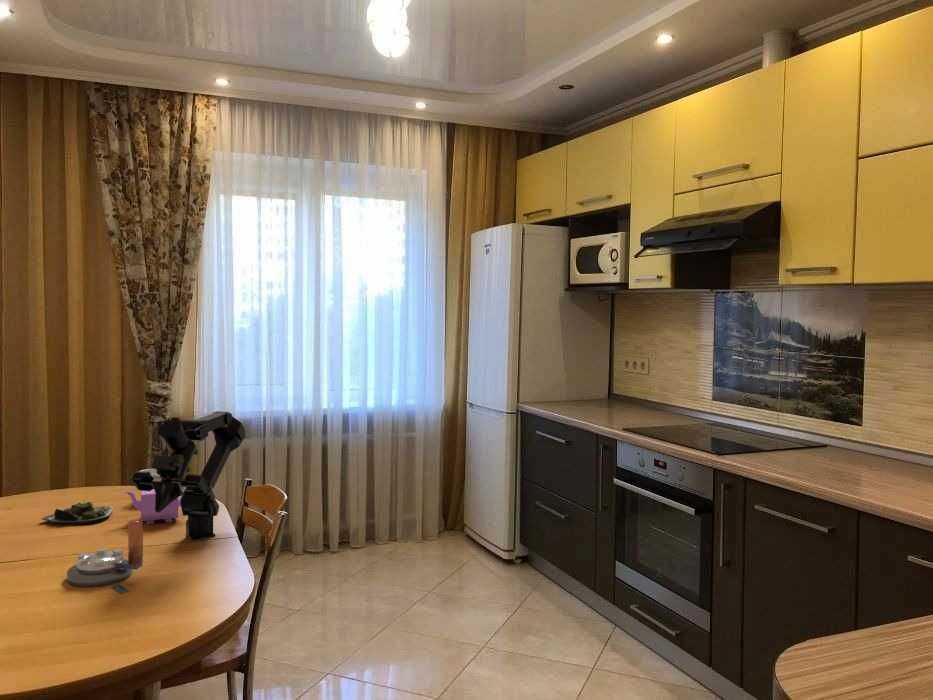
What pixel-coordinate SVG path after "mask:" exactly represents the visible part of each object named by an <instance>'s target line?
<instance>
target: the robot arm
mask: <svg viewBox="0 0 933 700" xmlns="http://www.w3.org/2000/svg"><path fill="white" fill-rule="evenodd" d="M209 432H212V433H213V435H214V441H215V446H214V448H213V450H212V452H211V453H210V456H209V457H208V460H207V461H206V464H205V465H204V467H203V470H202V472H201V474H198V473H197V474H196V473H194V474H193V473H190V471H191V468H190V464H191V461H192V459H193V457H194V455H198V454H199V451H198V448H197V445H196V444H195V442H194V441H196V442H197V441H199V442H202V441H204V440H205V439H206V438H207V437H208V436H209ZM246 433H247V432H246V428H245V427H244V425H243V423H242V422H241V421H239V420H238V419H236V418H235V416H233V414H232V413H231V412H229V411H221V410H220V411H219V410H218V411H214V412H213V413H210V414H208V415H205V416H202V417H200V418H196V419H195V418H186V419H185V418H184V419H183V418H182V419H181V418H180V417H175V416H174V417H173V416H172V417H171V418H170V420H168V421H165V422H164V423H163V424H161V425H160V426H159V428H158V435H159V436H160V438H161V439H162V440H163V442H164V444H165V445H166V447H167V448H168V449H169V450H170V452H169V455H153V459H152V462H151V467H150V469H157V471H156V473H157V474H158V475H160V476H154V477H152V475H151V474H150V473H149V472H143V471H141V470H136V471H134V472H133V473H132V475H131V476H130V479H129V480H130V481H131V482H132V484H133V485H134V487H135V489H137V490H138V491H140V492H141V491H151V490H153V489H154V490H155V495H156V498H155V511H156V512H158V513H159V512H161V511H162V510H163V509H164V508H165V507H166V506H168V505H169V504H170V503H171V502H172V501H174V500H175V499H176V498H180V497H181V496H182V497H181V501H180V503H181V506H180V508H181V512H182V516H184V517H185V516H186V517H187V519H186V520H185V535H186V536H187V537H188V538H190V539H191V540H192V541H197V540H201V539H206V538H213V537H216V533H214V517H216V516H218V514H219V511H220V510H219V509H220V504H219V502H218V501H217V500H216V494H215V490H214V489H215V485H216V484H217V482H218V480H219V477H220V475H221V474H222V471H223V469H224V466H225V465H226V463H227V460H228V459H229V457H230V454H231V453H232V452H233V451H234V450H237V449H238V448H239V447H240V446H241V444H242V443H243V441H244V440H245V439H246ZM187 473H188V474H187ZM185 488H186V489H185ZM184 490H185V491H184ZM183 491H184V493H183Z"/></svg>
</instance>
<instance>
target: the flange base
mask: <svg viewBox="0 0 933 700" xmlns="http://www.w3.org/2000/svg"><path fill="white" fill-rule="evenodd" d="M123 560H128V558H127V559H126V558H123ZM132 574H133V569H122V568H119V569H117V570H114V571H111V572H107V573H102V574H82V573H79V572H78V571H77V563H76V564H75V565H72V566H71V567H69V568H68V569H67V571H66V583H67V584H69V585H71V586H73V587H79V588H98V587H105V586H110V585H113V586H111V588H112V589H113V590H115V591H116V592H118V593H120V594H124V593H129V592H130V590H129V589H128V588H125V587H124V586H123V585H121V584H118V585H114V584H117V583H120V582H122V581H125V580H126V579H128V578H130V577H131V575H132Z"/></svg>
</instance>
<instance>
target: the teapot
mask: <svg viewBox="0 0 933 700" xmlns="http://www.w3.org/2000/svg"><path fill="white" fill-rule="evenodd" d="M185 489H186V488H184V491H185ZM184 491H183V493H184ZM123 493H125V494H127V495H128V496H129V497H130V499H131V502H132V504H133V506H134V508H135V509H136V510H138V511H140V519H141V520H143V522H146V523H145V524H146V525H153V524H154V523H155V521H157V520H164V521H165V523H172V522H174V520H173V519H178V518H179V508H181V503H180V501H181V497H182V496H179V497H178V498H176V499H175V500H174V501H172V502H171V503H170V504H169V505H168V506H166V507H165V508H164V509H163V510H162V511H161V512H159V513H158V512H156V511H155V498H156V495H155V490H154V489H153V490H151V491H140V500H139V499H138V498H137V496H136V494H135V493H134V492H133V491H131V490H125V491H123Z"/></svg>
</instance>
